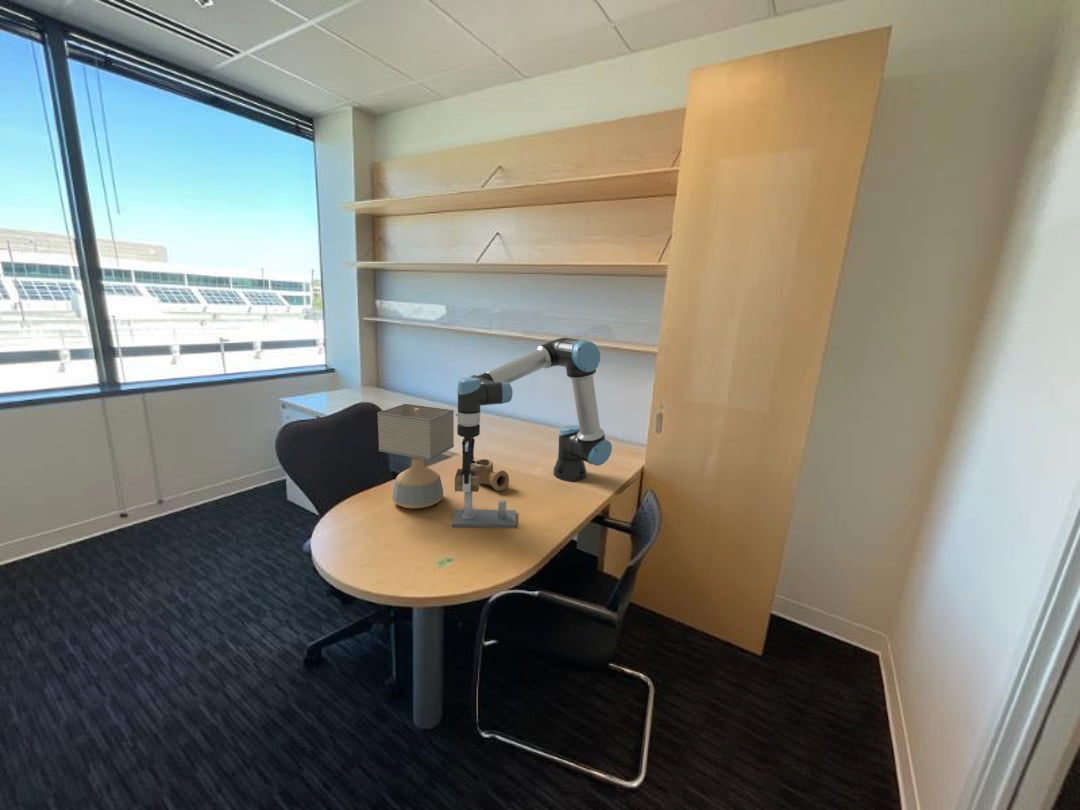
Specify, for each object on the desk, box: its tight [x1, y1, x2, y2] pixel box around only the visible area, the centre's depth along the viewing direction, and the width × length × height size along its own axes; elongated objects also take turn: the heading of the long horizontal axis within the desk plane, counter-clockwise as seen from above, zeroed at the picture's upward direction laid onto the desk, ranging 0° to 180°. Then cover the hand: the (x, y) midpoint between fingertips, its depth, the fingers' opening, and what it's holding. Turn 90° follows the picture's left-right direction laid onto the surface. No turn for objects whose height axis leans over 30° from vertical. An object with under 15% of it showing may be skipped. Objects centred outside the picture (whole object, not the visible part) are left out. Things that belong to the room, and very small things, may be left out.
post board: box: [451, 492, 517, 528], centre depth 153 cm, size 22×11×11 cm, turn 93°
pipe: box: [472, 458, 510, 492], centre depth 181 cm, size 9×16×10 cm, turn 53°
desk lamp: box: [376, 403, 455, 510], centre depth 162 cm, size 22×19×37 cm
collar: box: [454, 468, 481, 493], centre depth 150 cm, size 8×8×5 cm
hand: (467, 486), depth 151 cm, fingers closed on collar, 8 cm apart
